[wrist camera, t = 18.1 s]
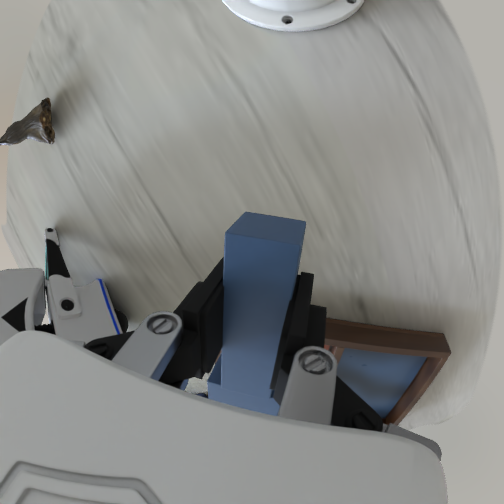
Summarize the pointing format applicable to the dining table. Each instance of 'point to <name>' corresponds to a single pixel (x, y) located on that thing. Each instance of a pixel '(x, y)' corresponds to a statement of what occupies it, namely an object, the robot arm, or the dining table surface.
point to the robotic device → (56, 301)
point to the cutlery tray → (385, 364)
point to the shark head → (32, 126)
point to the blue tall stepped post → (255, 307)
